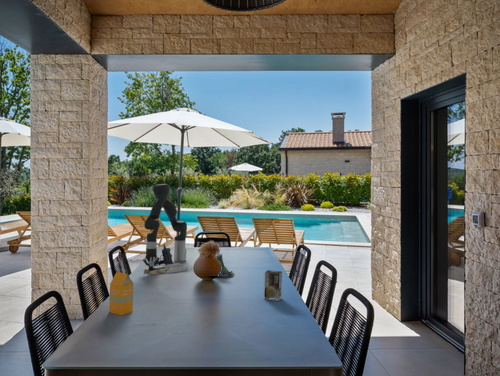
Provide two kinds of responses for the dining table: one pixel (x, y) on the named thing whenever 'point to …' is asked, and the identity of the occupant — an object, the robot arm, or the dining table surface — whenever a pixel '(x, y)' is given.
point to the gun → (165, 257)
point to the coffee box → (273, 285)
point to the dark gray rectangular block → (156, 268)
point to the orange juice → (121, 294)
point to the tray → (173, 266)
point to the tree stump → (224, 268)
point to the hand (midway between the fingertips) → (150, 271)
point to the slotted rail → (155, 271)
